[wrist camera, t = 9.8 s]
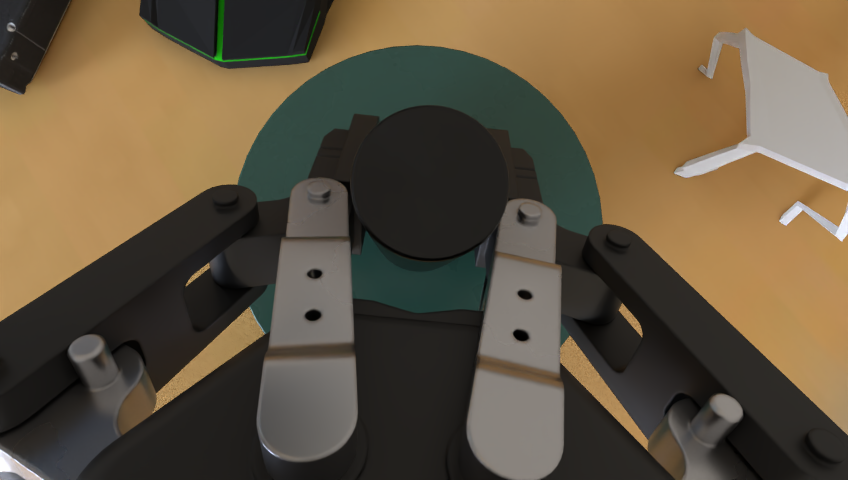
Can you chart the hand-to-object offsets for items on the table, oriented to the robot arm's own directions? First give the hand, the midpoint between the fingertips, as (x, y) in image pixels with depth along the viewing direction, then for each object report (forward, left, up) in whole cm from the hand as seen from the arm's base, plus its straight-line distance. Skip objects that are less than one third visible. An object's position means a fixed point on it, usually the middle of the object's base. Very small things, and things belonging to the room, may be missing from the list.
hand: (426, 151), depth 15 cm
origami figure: (+2, +19, -14) cm, 24 cm away
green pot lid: (+2, -1, -2) cm, 3 cm away
